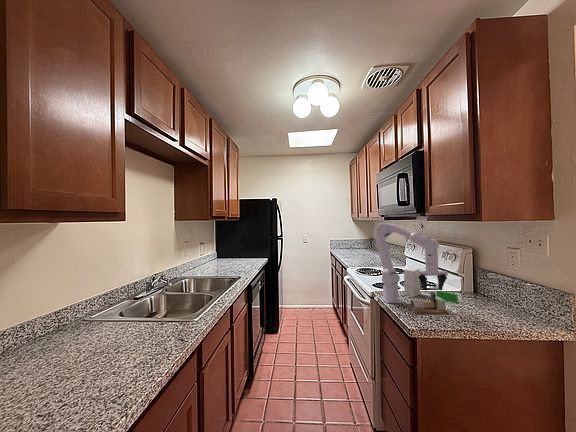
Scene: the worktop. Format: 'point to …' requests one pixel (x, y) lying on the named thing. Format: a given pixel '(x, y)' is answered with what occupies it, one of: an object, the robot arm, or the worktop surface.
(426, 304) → the light wooden block
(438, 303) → the socket block
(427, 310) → the walnut board
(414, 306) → the white cardboard cube
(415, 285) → the skincare box
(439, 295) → the green block
